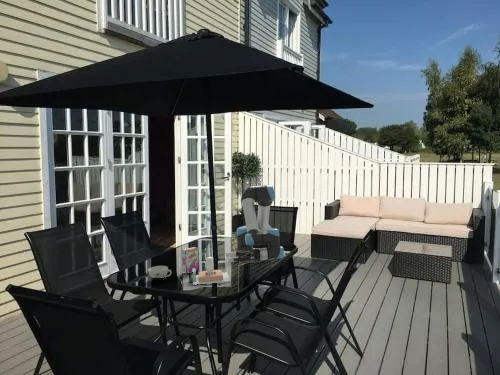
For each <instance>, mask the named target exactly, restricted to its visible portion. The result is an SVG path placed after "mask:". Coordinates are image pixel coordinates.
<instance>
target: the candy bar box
mask: <svg viewBox="0 0 500 375" xmlns="http://www.w3.org/2000/svg"><path fill="white" fill-rule="evenodd" d="M199 254H200V252H199V247H196V246H194V247H193V246H192V247H189V248H184V249H181V265H182V273H183V272H185V273H188V272H192V268H195V269H196V271H197V270H199V271H200V257H199V256H200V255H199ZM197 272H198V271H197Z"/></svg>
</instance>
